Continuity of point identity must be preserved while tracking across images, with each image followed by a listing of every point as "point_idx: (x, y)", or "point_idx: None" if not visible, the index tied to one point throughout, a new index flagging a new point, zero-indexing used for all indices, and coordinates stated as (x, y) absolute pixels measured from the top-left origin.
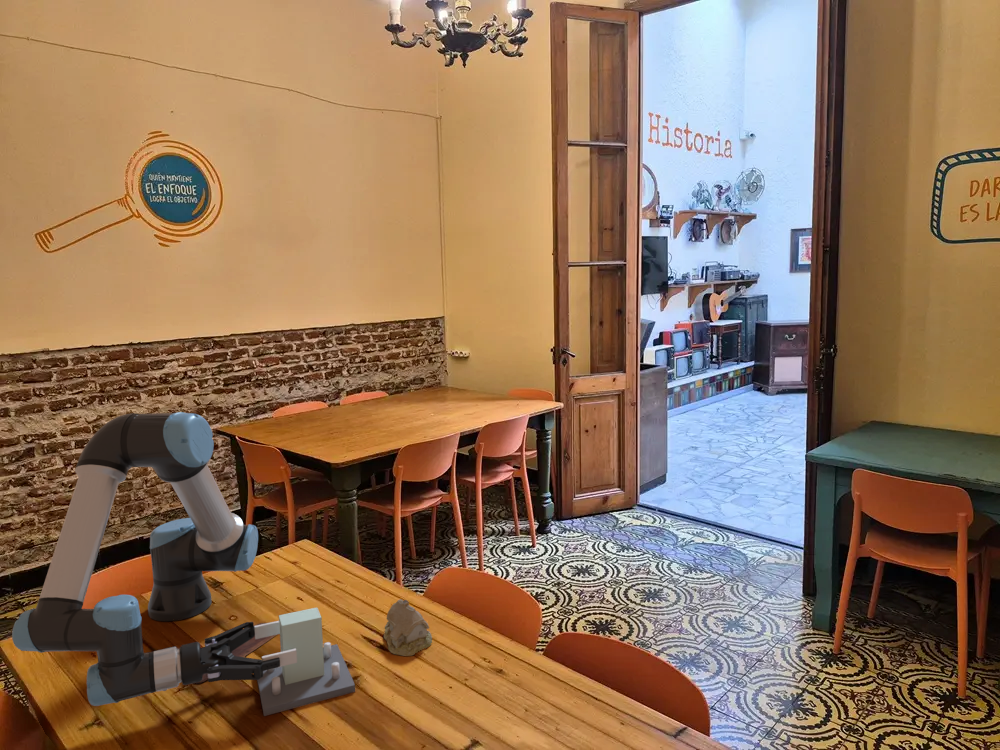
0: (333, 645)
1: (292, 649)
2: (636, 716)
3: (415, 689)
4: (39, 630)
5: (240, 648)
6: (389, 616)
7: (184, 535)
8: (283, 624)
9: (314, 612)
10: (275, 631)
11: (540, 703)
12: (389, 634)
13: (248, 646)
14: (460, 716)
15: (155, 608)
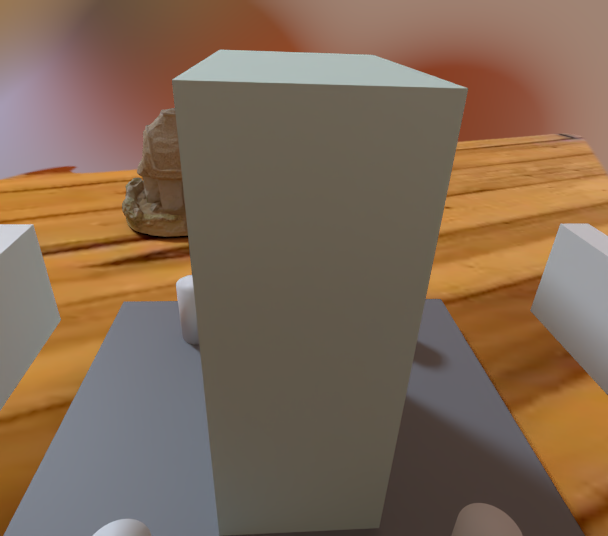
0: (123, 310)
1: (581, 235)
2: (538, 141)
3: (447, 238)
4: None
5: None
6: (171, 163)
7: None
8: (435, 84)
9: (286, 54)
10: (8, 356)
11: (509, 167)
12: (183, 216)
13: None
14: (555, 215)
15: None
